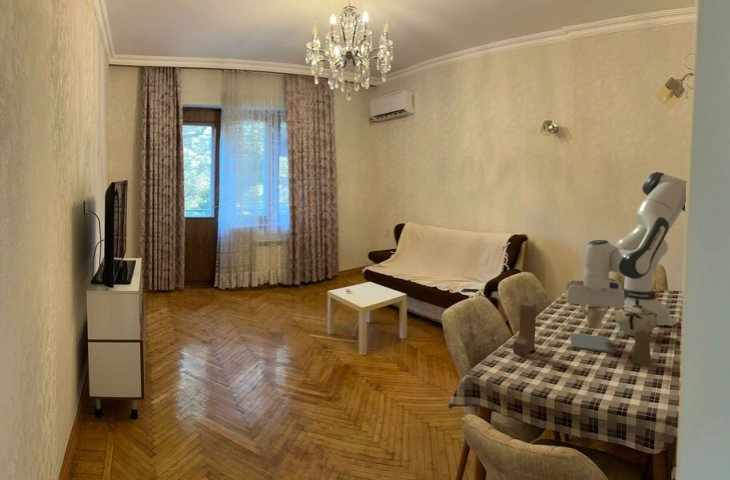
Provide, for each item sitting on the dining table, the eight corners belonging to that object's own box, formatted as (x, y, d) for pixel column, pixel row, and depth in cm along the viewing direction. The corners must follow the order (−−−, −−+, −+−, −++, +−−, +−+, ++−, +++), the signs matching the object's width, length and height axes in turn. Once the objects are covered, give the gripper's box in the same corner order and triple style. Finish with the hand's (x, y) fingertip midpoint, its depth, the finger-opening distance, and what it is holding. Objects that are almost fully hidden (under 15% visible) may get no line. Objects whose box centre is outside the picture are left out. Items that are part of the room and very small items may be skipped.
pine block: (598, 302, 174) (602, 311, 161) (597, 318, 175) (601, 329, 162) (586, 301, 176) (589, 310, 163) (585, 317, 177) (588, 328, 164)
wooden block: (524, 356, 158) (526, 309, 156) (512, 352, 162) (514, 306, 159) (534, 349, 165) (536, 304, 162) (523, 346, 168) (525, 302, 165)
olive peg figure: (627, 359, 155) (629, 330, 153) (642, 358, 155) (645, 329, 154) (639, 366, 149) (641, 336, 147) (655, 365, 149) (657, 335, 148)
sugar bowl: (620, 324, 193) (622, 292, 191) (659, 331, 183) (662, 297, 181) (608, 335, 179) (611, 301, 177) (651, 344, 169) (654, 307, 167)
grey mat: (608, 339, 175) (608, 337, 175) (613, 353, 160) (613, 351, 160) (570, 334, 180) (570, 332, 180) (571, 347, 166) (572, 346, 166)
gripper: (566, 281, 168) (564, 315, 170) (626, 285, 160) (624, 321, 162) (566, 278, 174) (564, 311, 175) (624, 282, 166) (621, 316, 167)
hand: (593, 316), depth 168 cm, fingers closed on pine block, 4 cm apart
